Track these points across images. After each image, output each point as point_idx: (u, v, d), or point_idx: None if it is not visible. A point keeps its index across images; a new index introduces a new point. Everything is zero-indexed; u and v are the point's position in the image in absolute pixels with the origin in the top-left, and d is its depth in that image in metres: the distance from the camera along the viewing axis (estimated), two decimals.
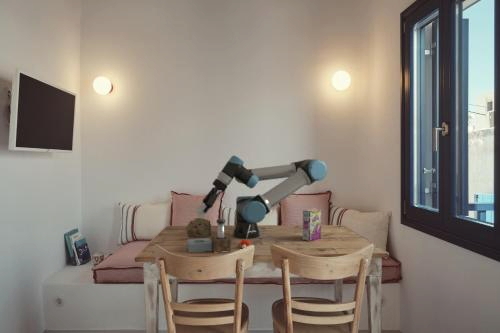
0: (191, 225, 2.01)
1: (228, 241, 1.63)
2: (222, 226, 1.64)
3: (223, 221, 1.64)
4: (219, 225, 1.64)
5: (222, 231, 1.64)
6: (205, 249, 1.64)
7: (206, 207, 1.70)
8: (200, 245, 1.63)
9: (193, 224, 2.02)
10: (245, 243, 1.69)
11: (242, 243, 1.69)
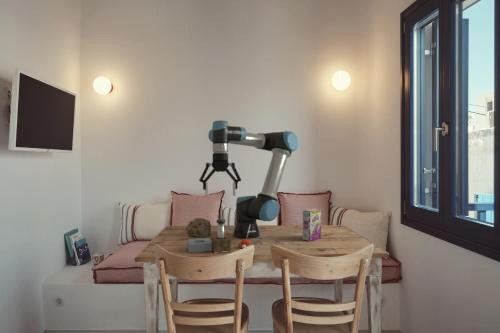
0: (191, 225, 2.01)
1: (228, 241, 1.63)
2: (222, 226, 1.64)
3: (223, 221, 1.64)
4: (219, 225, 1.64)
5: (222, 231, 1.64)
6: (205, 249, 1.64)
7: None
8: (200, 245, 1.63)
9: (193, 224, 2.02)
10: (245, 243, 1.69)
11: (242, 243, 1.69)
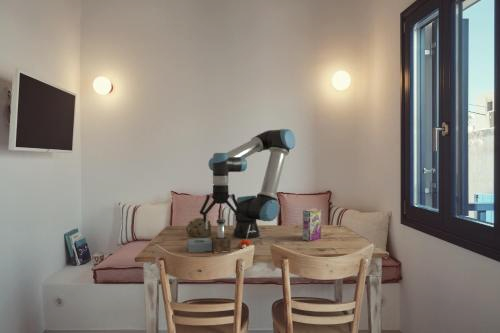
0: (191, 225, 2.01)
1: (228, 241, 1.63)
2: (222, 226, 1.64)
3: (223, 221, 1.64)
4: (219, 225, 1.64)
5: (222, 231, 1.64)
6: (205, 249, 1.64)
7: (237, 215, 1.67)
8: (200, 245, 1.63)
9: (193, 224, 2.02)
10: (245, 243, 1.69)
11: (242, 243, 1.69)
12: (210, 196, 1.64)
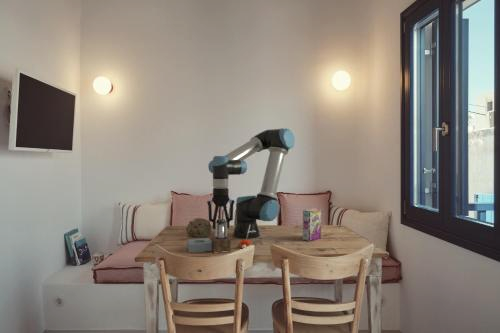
0: (191, 225, 2.00)
1: (228, 241, 1.63)
2: (222, 226, 1.64)
3: (223, 221, 1.64)
4: (219, 225, 1.64)
5: (222, 231, 1.64)
6: (205, 249, 1.64)
7: None
8: (200, 245, 1.63)
9: (193, 224, 2.02)
10: (245, 243, 1.69)
11: (242, 243, 1.69)
12: (211, 201, 1.64)
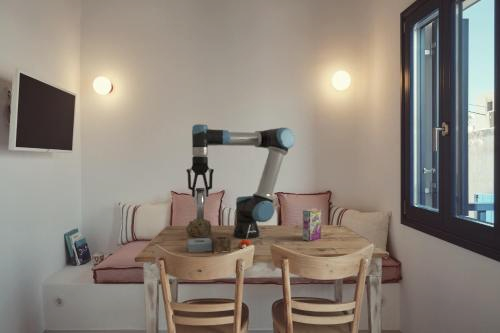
0: (191, 225, 2.00)
1: (228, 241, 1.63)
2: (201, 194, 1.66)
3: (202, 189, 1.66)
4: (198, 193, 1.66)
5: (201, 199, 1.66)
6: (205, 249, 1.64)
7: None
8: (200, 245, 1.63)
9: (193, 224, 2.01)
10: (245, 243, 1.69)
11: (242, 243, 1.69)
12: (190, 169, 1.65)
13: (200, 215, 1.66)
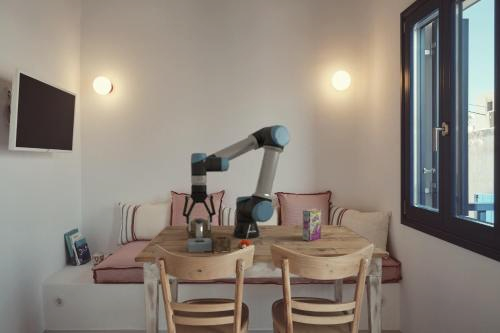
0: (191, 226, 1.99)
1: (228, 241, 1.63)
2: (200, 225, 1.67)
3: (201, 220, 1.67)
4: (197, 224, 1.66)
5: (200, 230, 1.67)
6: (205, 249, 1.64)
7: None
8: (200, 245, 1.63)
9: (193, 225, 2.01)
10: (245, 243, 1.69)
11: (242, 243, 1.69)
12: (188, 197, 1.66)
13: None
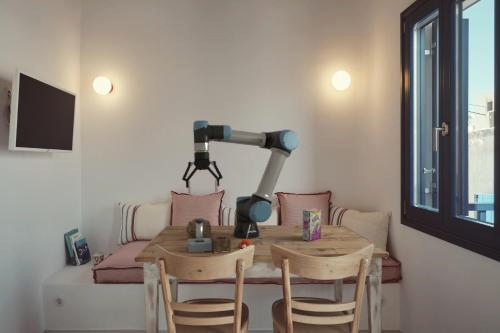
0: (191, 226, 1.99)
1: (228, 241, 1.63)
2: (200, 225, 1.67)
3: (201, 220, 1.67)
4: (197, 224, 1.67)
5: (200, 230, 1.67)
6: (205, 249, 1.64)
7: None
8: (200, 245, 1.63)
9: (193, 225, 2.00)
10: (245, 243, 1.69)
11: (242, 243, 1.69)
12: (192, 163, 1.69)
13: None
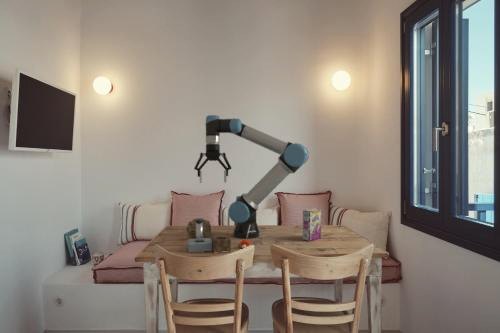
0: (191, 226, 1.99)
1: (228, 241, 1.63)
2: (200, 225, 1.67)
3: (201, 220, 1.67)
4: (197, 224, 1.67)
5: (200, 230, 1.67)
6: (205, 249, 1.64)
7: None
8: (200, 245, 1.63)
9: (193, 225, 2.00)
10: (245, 243, 1.69)
11: (242, 243, 1.69)
12: (203, 154, 1.85)
13: None
